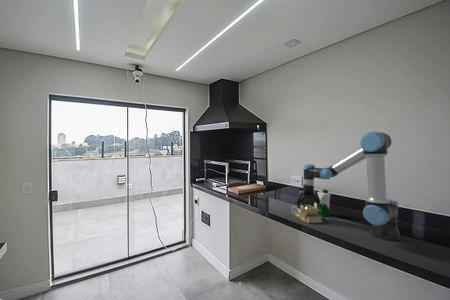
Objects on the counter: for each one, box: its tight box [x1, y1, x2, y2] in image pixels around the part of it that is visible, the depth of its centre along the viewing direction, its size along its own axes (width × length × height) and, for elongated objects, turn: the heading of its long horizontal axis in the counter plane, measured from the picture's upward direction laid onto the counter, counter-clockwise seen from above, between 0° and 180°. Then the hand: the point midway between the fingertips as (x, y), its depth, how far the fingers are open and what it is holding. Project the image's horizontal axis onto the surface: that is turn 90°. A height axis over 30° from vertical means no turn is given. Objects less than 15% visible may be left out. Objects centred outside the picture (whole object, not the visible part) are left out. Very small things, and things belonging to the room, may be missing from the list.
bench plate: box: [293, 212, 324, 224], centre depth 158 cm, size 19×12×2 cm, turn 12°
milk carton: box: [317, 189, 331, 218], centre depth 167 cm, size 9×9×20 cm
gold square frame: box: [298, 204, 319, 219], centre depth 158 cm, size 10×10×7 cm
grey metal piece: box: [294, 206, 323, 221], centre depth 158 cm, size 19×10×7 cm, turn 12°
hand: (307, 212), depth 158 cm, fingers open, 13 cm apart
